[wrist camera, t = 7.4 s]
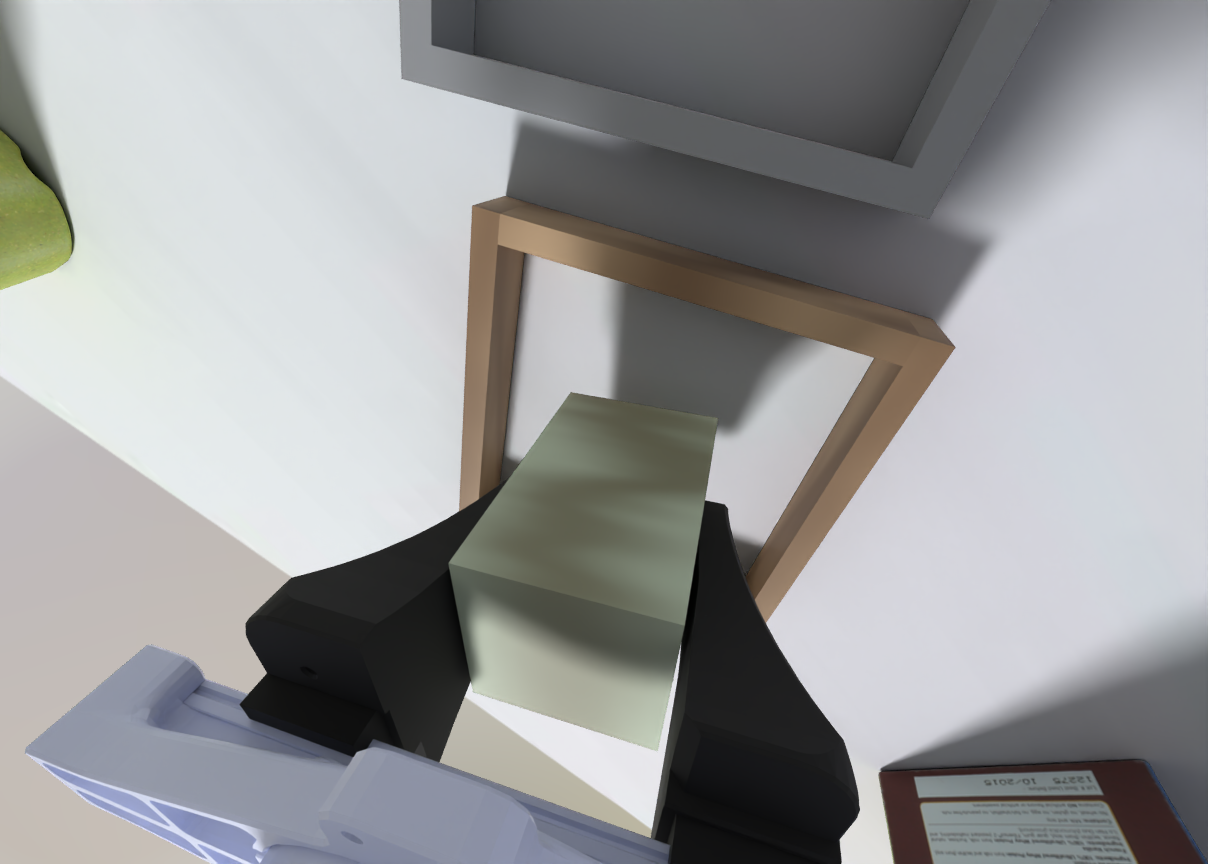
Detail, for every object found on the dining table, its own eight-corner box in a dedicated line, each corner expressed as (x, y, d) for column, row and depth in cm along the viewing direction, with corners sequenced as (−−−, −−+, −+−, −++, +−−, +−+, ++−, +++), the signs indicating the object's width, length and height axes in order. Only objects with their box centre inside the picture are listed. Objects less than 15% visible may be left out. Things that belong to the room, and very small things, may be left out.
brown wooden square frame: (932, 318, 13) (955, 347, 12) (755, 597, 20) (755, 638, 19) (504, 195, 15) (472, 205, 13) (481, 497, 22) (458, 527, 20)
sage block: (717, 418, 14) (684, 625, 8) (695, 530, 16) (657, 751, 11) (570, 392, 15) (448, 563, 9) (570, 502, 17) (473, 692, 11)
